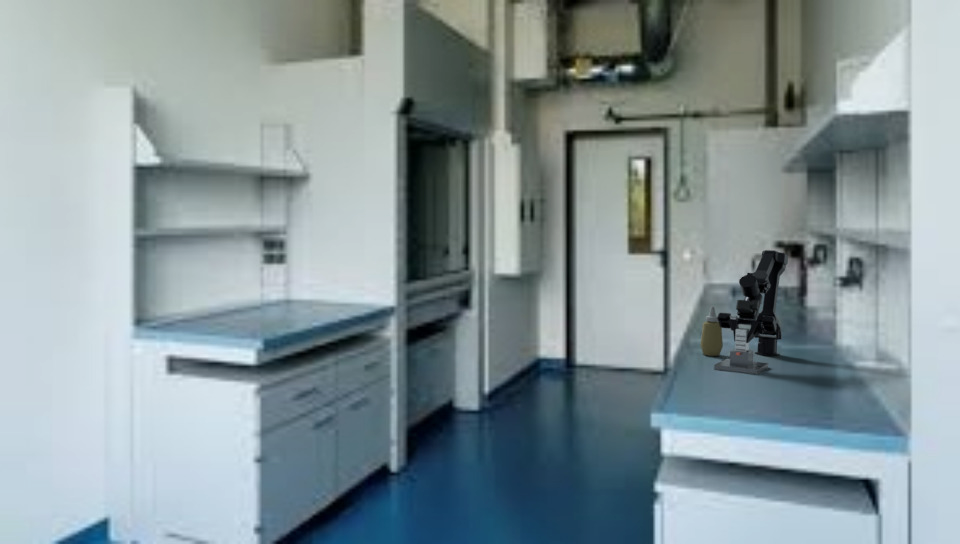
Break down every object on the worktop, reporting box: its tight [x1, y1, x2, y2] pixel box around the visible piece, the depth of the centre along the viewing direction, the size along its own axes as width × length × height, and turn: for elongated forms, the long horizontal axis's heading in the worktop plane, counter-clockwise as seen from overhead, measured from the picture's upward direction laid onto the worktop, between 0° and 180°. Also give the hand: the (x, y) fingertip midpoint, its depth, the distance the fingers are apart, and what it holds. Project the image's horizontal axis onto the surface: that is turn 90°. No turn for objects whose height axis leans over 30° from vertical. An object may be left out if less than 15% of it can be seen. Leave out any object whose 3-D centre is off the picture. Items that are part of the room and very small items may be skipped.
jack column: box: [734, 327, 750, 353], centre depth 254 cm, size 4×4×10 cm
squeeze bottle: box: [699, 306, 724, 357], centre depth 280 cm, size 8×8×18 cm
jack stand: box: [713, 348, 769, 375], centre depth 255 cm, size 14×14×6 cm
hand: (741, 341), depth 253 cm, fingers closed on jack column, 4 cm apart
